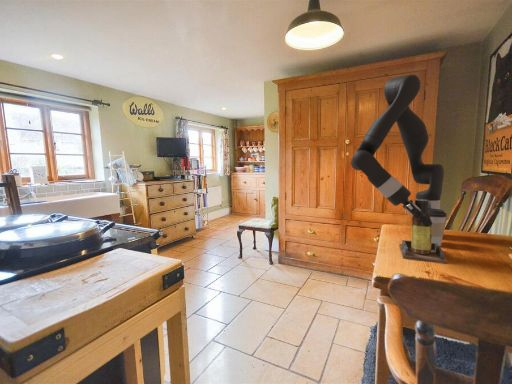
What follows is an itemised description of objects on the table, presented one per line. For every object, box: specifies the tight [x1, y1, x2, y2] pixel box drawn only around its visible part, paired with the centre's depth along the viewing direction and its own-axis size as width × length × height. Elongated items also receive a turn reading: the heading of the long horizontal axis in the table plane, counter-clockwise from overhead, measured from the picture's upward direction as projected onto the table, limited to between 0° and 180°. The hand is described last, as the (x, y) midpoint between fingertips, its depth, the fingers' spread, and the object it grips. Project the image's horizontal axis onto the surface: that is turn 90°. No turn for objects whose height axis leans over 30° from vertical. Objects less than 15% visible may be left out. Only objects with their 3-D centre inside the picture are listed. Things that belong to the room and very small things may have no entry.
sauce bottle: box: [410, 199, 432, 255], centre depth 92 cm, size 7×6×20 cm
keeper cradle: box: [398, 239, 448, 265], centre depth 94 cm, size 14×13×8 cm
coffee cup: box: [428, 208, 447, 247], centre depth 104 cm, size 9×9×15 cm
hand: (427, 222), depth 91 cm, fingers open, 8 cm apart
